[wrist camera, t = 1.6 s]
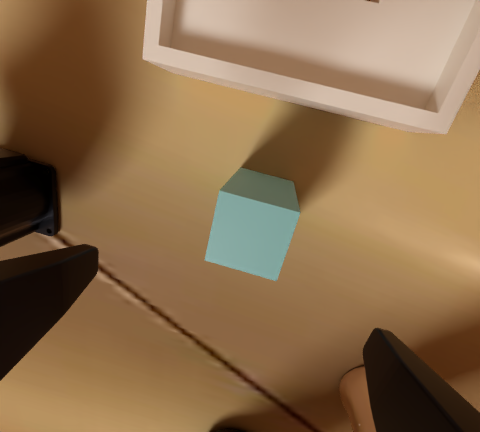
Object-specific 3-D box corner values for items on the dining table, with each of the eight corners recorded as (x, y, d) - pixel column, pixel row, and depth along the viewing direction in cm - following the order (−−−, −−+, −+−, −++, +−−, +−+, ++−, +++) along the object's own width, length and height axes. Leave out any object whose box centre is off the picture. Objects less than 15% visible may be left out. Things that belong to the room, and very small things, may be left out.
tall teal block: (277, 229, 20) (276, 281, 13) (229, 216, 20) (204, 260, 14) (293, 181, 18) (300, 212, 12) (240, 167, 19) (219, 190, 12)
